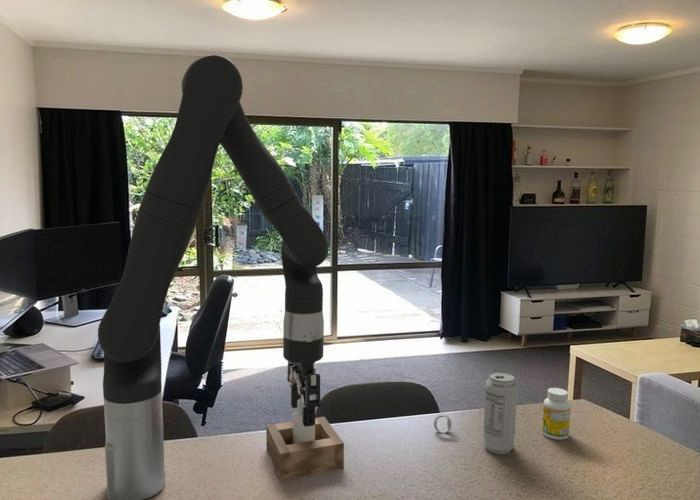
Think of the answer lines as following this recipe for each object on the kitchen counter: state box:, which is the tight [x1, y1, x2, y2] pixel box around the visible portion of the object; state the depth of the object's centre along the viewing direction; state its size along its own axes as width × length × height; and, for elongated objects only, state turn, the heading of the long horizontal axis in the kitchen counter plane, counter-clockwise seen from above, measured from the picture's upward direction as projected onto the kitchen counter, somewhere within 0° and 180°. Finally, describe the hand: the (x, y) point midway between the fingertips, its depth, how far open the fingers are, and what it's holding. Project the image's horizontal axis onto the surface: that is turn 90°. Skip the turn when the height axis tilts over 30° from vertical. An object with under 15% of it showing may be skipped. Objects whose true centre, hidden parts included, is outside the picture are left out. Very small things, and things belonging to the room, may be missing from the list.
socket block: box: [265, 416, 345, 481], centre depth 107 cm, size 12×12×5 cm
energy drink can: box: [482, 371, 518, 455], centre depth 111 cm, size 6×6×15 cm
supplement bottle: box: [541, 387, 572, 441], centre depth 117 cm, size 5×5×10 cm
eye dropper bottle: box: [292, 397, 315, 444], centre depth 106 cm, size 4×6×12 cm
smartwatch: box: [433, 413, 452, 434], centre depth 118 cm, size 4×2×4 cm, turn 87°
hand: (302, 415), depth 106 cm, fingers open, 8 cm apart
